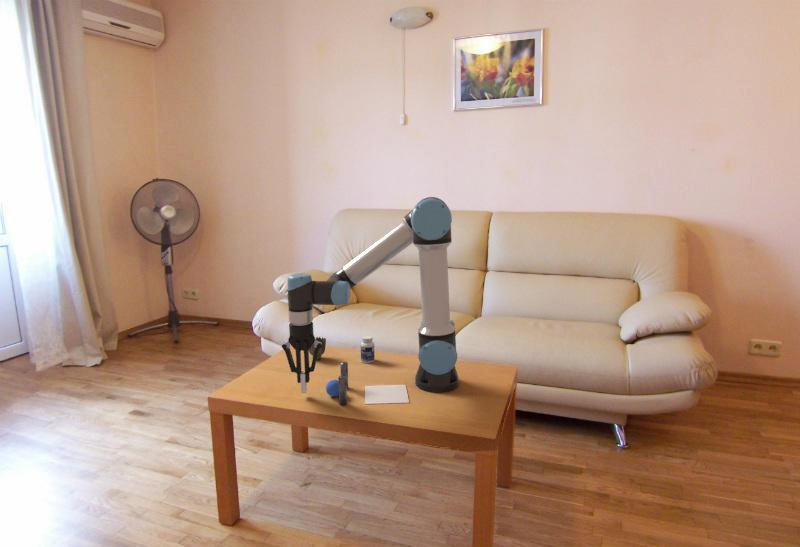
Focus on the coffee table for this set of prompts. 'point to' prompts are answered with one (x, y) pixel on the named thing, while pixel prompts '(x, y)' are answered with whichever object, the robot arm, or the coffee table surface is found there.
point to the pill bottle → (367, 349)
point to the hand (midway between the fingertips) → (303, 391)
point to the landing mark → (386, 394)
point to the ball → (333, 388)
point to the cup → (321, 350)
